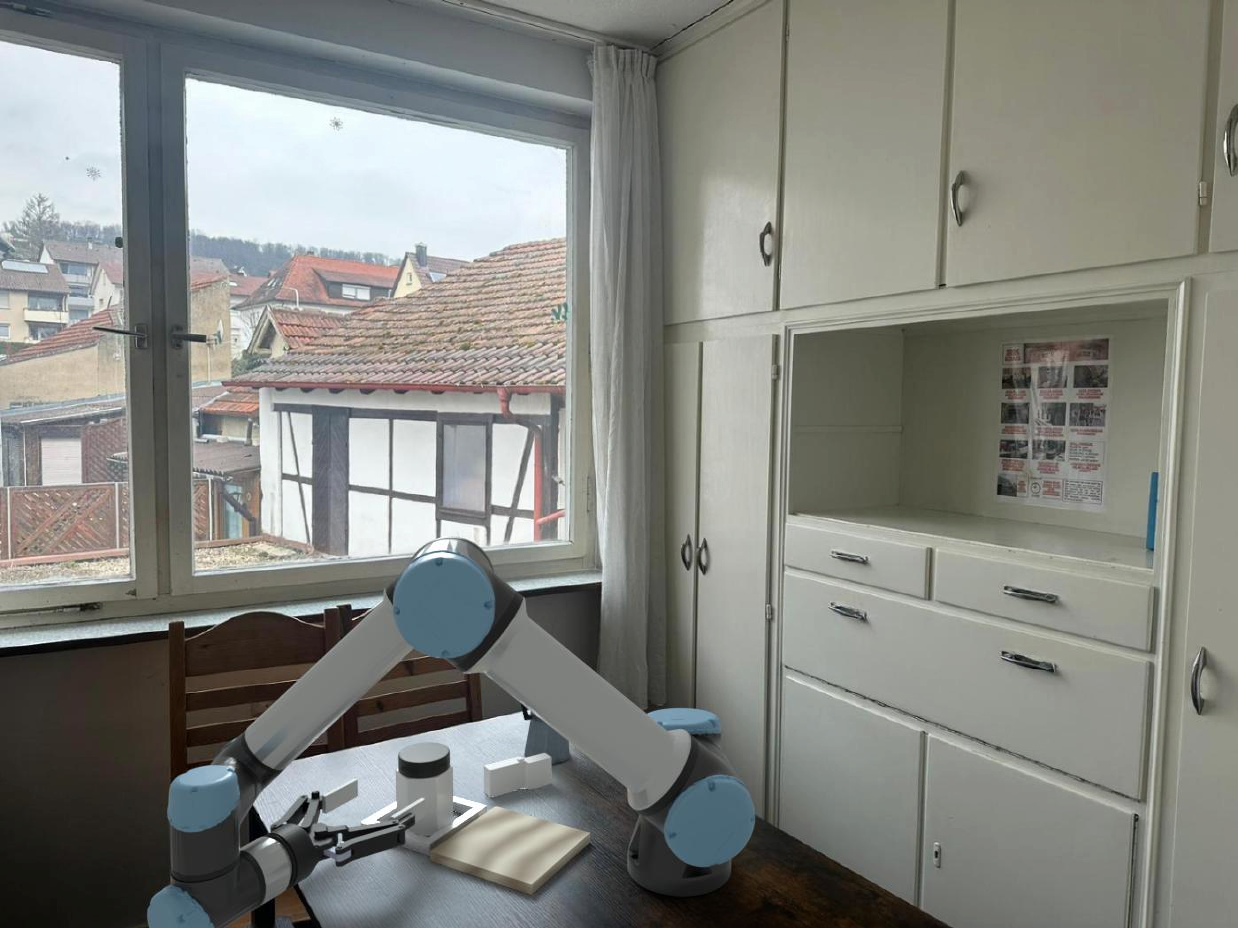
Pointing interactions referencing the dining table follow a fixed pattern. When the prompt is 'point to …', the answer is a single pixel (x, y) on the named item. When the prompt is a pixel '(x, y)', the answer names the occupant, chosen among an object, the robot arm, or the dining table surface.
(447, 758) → the jar
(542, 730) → the moka pot
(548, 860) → the board
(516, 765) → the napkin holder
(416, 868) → the dining table surface
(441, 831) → the white square frame
